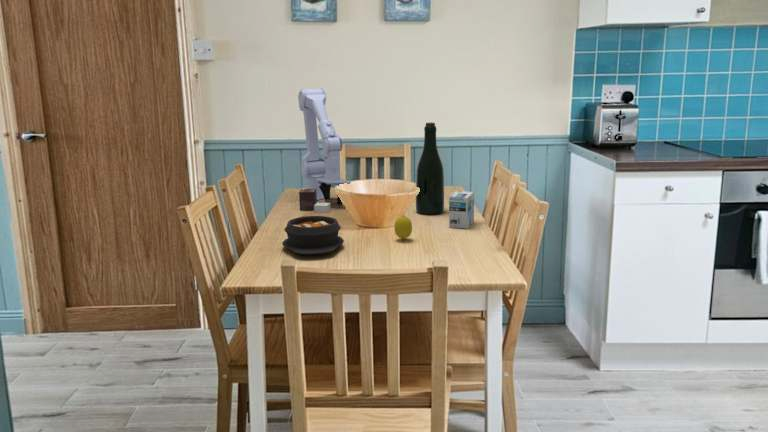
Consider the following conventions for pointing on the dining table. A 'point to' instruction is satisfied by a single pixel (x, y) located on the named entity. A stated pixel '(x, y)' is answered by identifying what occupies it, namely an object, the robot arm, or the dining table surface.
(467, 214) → the light bulb box
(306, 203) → the box
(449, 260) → the dining table surface
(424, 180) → the wine bottle
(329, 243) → the casserole
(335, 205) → the walnut block
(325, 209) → the grey block
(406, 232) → the lemon
